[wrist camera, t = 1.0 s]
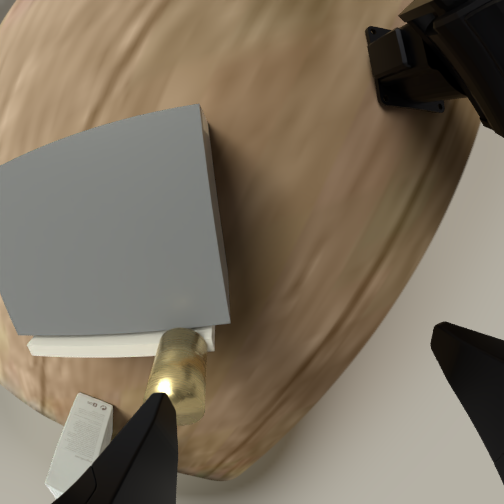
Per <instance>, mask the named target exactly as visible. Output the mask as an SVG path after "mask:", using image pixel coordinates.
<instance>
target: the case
mask: <svg viewBox="0 0 504 504" xmlns="http://www.w3.org/2000/svg"><path fill="white" fill-rule="evenodd" d="M0 294H1V296H2V299H3V301H4V304H5V306H6V309H7V311H8V313H9V316H10V318H11V320H12V322H13V325H14V327H15V329H16V331H17V333H18V335H46V336H51V335H98V334H119V333H135V332H149V331H162V330H170V329H173V328H194V327H203V326H212V325H220V324H228V323H231V322H230V303H229V282H228V268H227V261H226V255H225V248H224V241H223V234H222V227H221V220H220V213H219V206H218V198H217V191H216V183H215V175H214V168H213V160H212V152H211V143H210V135H209V126H208V121H207V119H206V117H205V115H204V113H203V111H202V109H201V107H200V104H194V105H188V106H183V107H177V108H172V109H167V110H162V111H157V112H152V113H148V114H143V115H139V116H135V117H131V118H127V119H123V120H120V121H116V122H112V123H109V124H105V125H102V126H99V127H95V128H92V129H89V130H86V131H83V132H80V133H77V134H74V135H71V136H68V137H66V138H63V139H60V140H58V141H55V142H52V143H50V144H47V145H45V146H42V147H40V148H37V149H35V150H33V151H30V152H28V153H26V154H24V155H21V156H19V157H17V158H15V159H13V160H11V161H9V162H7V163H5V164H3V165H1V166H0Z"/></svg>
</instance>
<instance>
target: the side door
mask: <svg viewBox="0 0 504 504" xmlns="http://www.w3.org/2000/svg"><path fill="white" fill-rule="evenodd" d="M27 346H28V348H29V350H30V352H31V354H32V355H35V356H53V357H140V356H155V359H154V362H153V366H152V369H151V373H150V377H149V380H148V384H147V388H146V392H145V396H144V400H143V404H144V403H145V401H146V400H147V399H148V398H149V397H150V395H151V394H153V393H157V392H165V393H166V394H167V395H168V397H169V399H170V400H171V402H172V404H173V406H174V407H175V410H176V419H177V425H190V424H193V423H196V422H198V421H199V420H200V419H201V418H202V417H203V415H204V412H205V386H206V365H207V352H208V351H214V347H215V325H212V326H203V327H194V328H173V329H170V330H162V331H149V332H135V333H119V334H98V335H51V336H46V335H35V336H34V337H33V338H32V339H31V340H30V342H29V343H28V344H27Z"/></svg>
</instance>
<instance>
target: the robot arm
mask: <svg viewBox="0 0 504 504" xmlns="http://www.w3.org/2000/svg"><path fill="white" fill-rule="evenodd" d="M398 16H399V17H400V18H401V19H402V20H403V21H404V22H407V24H406V25H404V26H402V27H400V28H395V29H393V30H388V29H383V28H378V27H373V26H370V27H368V28H367V29H366V30H365V33H366V37H367V42H368V52H369V57H370V62H371V68H372V74H373V77H374V78H375V84H376V91H377V98H378V101H379V103H380V104H381V105H383V106H391V107H400V108H408V109H416V110H423V111H429V112H435V113H443V112H444V100H450V99H458V98H467V97H468V99H469V100H470V102H471V103H472V105H473V106H474V108H475V110H476V111H477V113H478V115H479V116H480V120H481V122H482V124H483V126H485V127H487V128H490V129H492V130H494V131H495V133H497V134H498V135H500V136H502V137H503V138H504V0H414V1H413V2H412V3H411V4H410V5H409V6H408V7H406V8H405V9H404V10H403V11H402V12H401V13H400V14H399V15H398ZM371 31H372V32H373V33H374V34H372V33H371ZM383 96H384V97H385V98H386V102H385V101H384V99H383ZM438 105H439V107H438ZM431 349H432V351H433V353H434V355H435V357H436V359H437V361H438V363H439V365H440V366H441V369H442V371H443V373H444V375H445V377H446V379H447V381H448V383H449V384H450V386H451V388H452V389H453V391H454V392H455V394H456V395H457V397H458V399H459V400H460V402H461V404H462V405H463V407H464V409H465V411H466V412H467V414H468V416H469V417H470V419H471V421H472V423H473V424H474V426H475V428H476V430H477V432H478V433H479V435H480V437H481V439H482V441H483V443H484V445H485V447H486V449H487V450H488V452H489V454H490V456H491V458H492V460H493V462H494V465H495V467H496V469H497V471H498V473H499V475H500V477H501V480H502V482H503V484H504V340H501V339H498V338H495V337H492V336H488V335H485V334H482V333H479V332H476V331H473V330H470V329H467V328H464V327H460V326H457V325H455V324H451V323H448V322H441V323H439V324H437V325H435V327H434V329H433V334H432V339H431ZM177 466H178V440H177V419H176V410H175V407H174V406H173V404H172V402H171V400H170V399H169V397H168V395H167V394H166V393H165V392H157V393H153V394H151V395H150V397H149V398H148V399H147V400H146V401H145V403H144V404H143V405H142V406H141V407H140V408H139V410H138V411H137V412H136V413H135V414H134V416H133V417H132V418H131V419H130V420H129V421H128V423H127V424H126V425H125V426H124V427H123V428H122V430H121V431H120V432H119V433H118V434H117V435H116V437H115V438H114V439H113V440H112V441H111V442H110V444H109V445H108V446H107V447H106V448H105V449H104V450H103V452H102V453H101V454H100V455H99V456H98V457H97V459H96V460H95V461H94V462H93V463H92V466H89V468H88V469H87V470H86V471H85V472H84V473H83V474H82V475H81V476H80V478H79V479H78V480H77V481H76V482H75V483H74V484H73V485H72V486H71V487H70V488H68V489H67V490H66V491H65V492H64V493H63V494H62V495H61V496H60V497H58V498H57V499H56V500H55V501H54V502H53V503H52V504H176V485H177Z"/></svg>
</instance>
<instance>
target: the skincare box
mask: <svg viewBox="0 0 504 504" xmlns="http://www.w3.org/2000/svg"><path fill="white" fill-rule="evenodd" d="M112 432H113V406H112V405H110V404H108V403H106V402H104V401H101V400H99V399H96V398H93V397H91V396H88V395H86V394H83V393H78V394H77V396H76V399H75V401H74V403H73V406H72V408H71V411H70V413H69V416H68V418H67V421H66V423H65V426H64V429H63V431H62V434H61V436H60V439H59V442H58V445H57V447H56V450H55V453H54V456H53V459H52V463H51V466H50V469H49V472H48V476H47V478H46V481H45V484H46V486H47V487H48V488H49V490H50V491H51V493H52V494H53V495H54V497H55V498H56V499H57V498H58V497H60V496H61V495H62V494H63V493H64V492H65V491H66V490H67V489H68V488H70V487H71V486H72V485H73V484H74V483H75V482H76V481H77V480H78V479H79V478H80V476H81V475H82V474H83V473H84V472H85V471H86V470H87V469H88V468H89V466H92V463H93V462H94V461H95V460H96V459H97V457H98V456H99V455H100V454H101V453H102V452H103V450H104V449H105V448H106V447H107V446H108V445H109V444H110V441H111V436H112Z"/></svg>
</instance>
